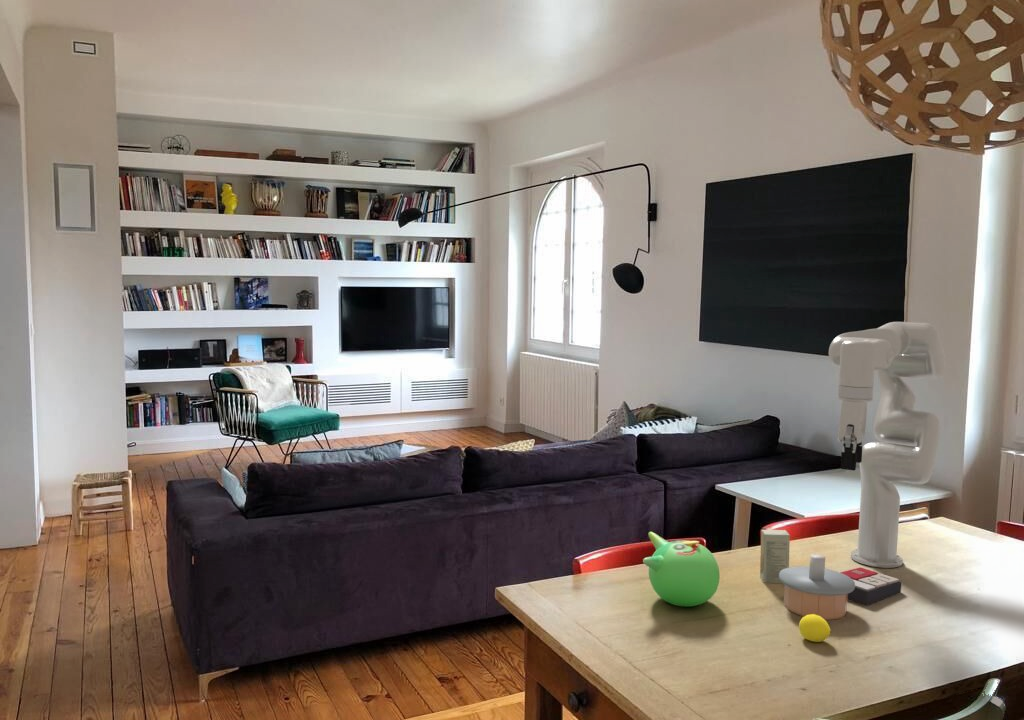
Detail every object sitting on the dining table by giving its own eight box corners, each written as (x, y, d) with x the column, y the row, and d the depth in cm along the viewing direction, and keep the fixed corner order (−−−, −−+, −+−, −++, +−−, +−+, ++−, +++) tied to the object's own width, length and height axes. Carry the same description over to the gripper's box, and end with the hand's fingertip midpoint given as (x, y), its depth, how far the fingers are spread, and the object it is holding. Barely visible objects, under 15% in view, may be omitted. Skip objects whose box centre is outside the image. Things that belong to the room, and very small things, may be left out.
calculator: (902, 578, 196) (868, 588, 187) (901, 596, 197) (866, 607, 188) (859, 565, 205) (824, 574, 196) (858, 582, 206) (823, 591, 197)
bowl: (791, 593, 195) (792, 568, 194) (850, 604, 188) (851, 579, 188) (778, 611, 184) (780, 585, 183) (841, 624, 177) (842, 597, 177)
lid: (786, 565, 196) (787, 541, 196) (859, 578, 189) (860, 553, 188) (772, 586, 183) (773, 560, 182) (849, 600, 175) (851, 574, 174)
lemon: (792, 640, 170) (791, 614, 170) (808, 634, 173) (806, 608, 173) (823, 648, 164) (821, 621, 164) (838, 642, 168) (836, 615, 168)
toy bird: (720, 621, 178) (722, 555, 176) (640, 613, 181) (643, 548, 180) (716, 591, 195) (719, 530, 194) (644, 584, 199) (646, 524, 197)
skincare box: (784, 577, 205) (787, 529, 204) (788, 584, 201) (791, 535, 200) (758, 576, 206) (760, 528, 205) (761, 582, 201) (764, 533, 200)
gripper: (843, 388, 202) (840, 457, 203) (832, 396, 187) (828, 470, 189) (877, 390, 198) (873, 461, 200) (868, 399, 183) (863, 474, 185)
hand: (851, 465), depth 194 cm, fingers open, 9 cm apart
